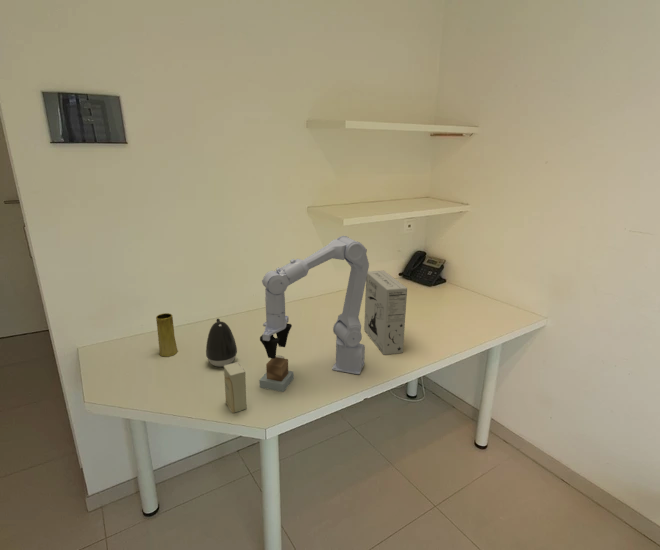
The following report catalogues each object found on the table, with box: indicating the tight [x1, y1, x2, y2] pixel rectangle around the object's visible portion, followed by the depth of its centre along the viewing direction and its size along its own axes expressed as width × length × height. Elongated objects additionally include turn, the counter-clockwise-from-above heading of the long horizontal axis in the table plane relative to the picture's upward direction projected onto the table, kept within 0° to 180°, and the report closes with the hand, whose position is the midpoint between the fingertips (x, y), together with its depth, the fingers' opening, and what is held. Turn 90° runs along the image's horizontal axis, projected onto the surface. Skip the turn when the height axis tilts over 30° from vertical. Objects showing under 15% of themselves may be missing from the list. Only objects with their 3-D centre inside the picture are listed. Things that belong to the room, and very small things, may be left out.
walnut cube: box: [265, 357, 289, 382], centre depth 126 cm, size 5×5×5 cm
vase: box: [155, 312, 179, 357], centre depth 144 cm, size 6×6×14 cm
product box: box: [363, 270, 408, 356], centre depth 153 cm, size 22×8×25 cm, turn 14°
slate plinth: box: [258, 370, 295, 393], centre depth 127 cm, size 8×8×3 cm
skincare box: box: [223, 361, 247, 414], centre depth 114 cm, size 6×4×12 cm
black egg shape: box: [205, 318, 238, 368], centre depth 137 cm, size 10×10×15 cm
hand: (277, 351), depth 125 cm, fingers open, 7 cm apart
